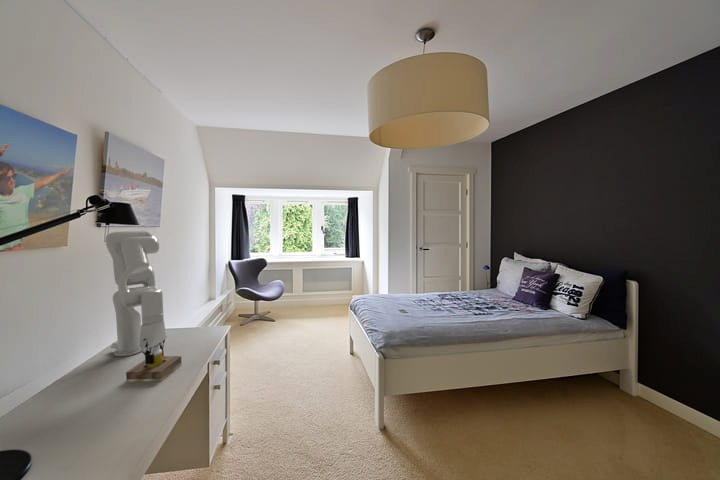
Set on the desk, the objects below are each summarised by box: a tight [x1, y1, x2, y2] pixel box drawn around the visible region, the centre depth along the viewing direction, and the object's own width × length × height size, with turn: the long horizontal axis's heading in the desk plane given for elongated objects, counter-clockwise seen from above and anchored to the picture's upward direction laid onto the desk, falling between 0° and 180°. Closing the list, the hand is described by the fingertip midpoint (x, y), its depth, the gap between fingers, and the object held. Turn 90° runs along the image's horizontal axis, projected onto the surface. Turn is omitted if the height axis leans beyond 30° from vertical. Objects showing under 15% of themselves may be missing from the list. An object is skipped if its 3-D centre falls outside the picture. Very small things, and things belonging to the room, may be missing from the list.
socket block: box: [125, 355, 183, 383], centre depth 127 cm, size 14×14×4 cm
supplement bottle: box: [147, 344, 163, 367], centre depth 127 cm, size 5×5×10 cm
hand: (154, 359), depth 127 cm, fingers closed on supplement bottle, 5 cm apart
